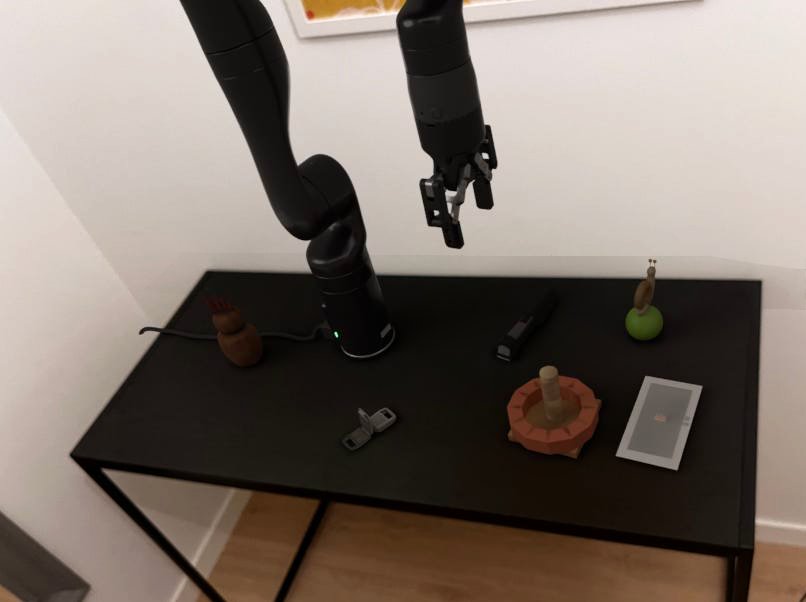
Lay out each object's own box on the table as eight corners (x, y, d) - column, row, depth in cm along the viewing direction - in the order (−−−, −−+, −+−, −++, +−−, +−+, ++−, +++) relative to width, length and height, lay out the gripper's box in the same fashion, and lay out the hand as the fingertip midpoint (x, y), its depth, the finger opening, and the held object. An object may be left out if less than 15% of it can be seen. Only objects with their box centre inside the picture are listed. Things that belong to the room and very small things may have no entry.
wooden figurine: (225, 368, 123) (186, 302, 113) (243, 345, 126) (207, 279, 116) (256, 373, 120) (220, 306, 110) (274, 350, 124) (240, 283, 114)
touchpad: (615, 460, 93) (615, 450, 92) (645, 381, 102) (645, 370, 101) (677, 475, 90) (677, 465, 88) (702, 391, 99) (703, 380, 97)
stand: (508, 440, 99) (498, 390, 92) (536, 390, 105) (528, 339, 98) (576, 458, 95) (571, 408, 88) (601, 405, 101) (598, 353, 94)
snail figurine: (670, 324, 110) (671, 261, 101) (655, 351, 106) (655, 288, 98) (636, 316, 112) (635, 255, 104) (620, 342, 109) (618, 281, 101)
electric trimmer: (564, 304, 118) (562, 289, 116) (513, 362, 110) (510, 347, 108) (544, 298, 120) (543, 283, 118) (493, 355, 112) (490, 340, 110)
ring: (497, 442, 98) (494, 430, 96) (528, 381, 105) (526, 369, 103) (581, 462, 93) (580, 450, 91) (608, 397, 100) (607, 384, 98)
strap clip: (387, 409, 108) (380, 390, 105) (398, 419, 106) (391, 400, 103) (341, 442, 105) (332, 423, 102) (352, 453, 103) (343, 434, 100)
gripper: (445, 73, 83) (469, 193, 94) (384, 133, 75) (418, 256, 86) (503, 74, 80) (521, 199, 91) (445, 136, 72) (472, 265, 83)
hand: (471, 227), depth 89 cm, fingers open, 8 cm apart
